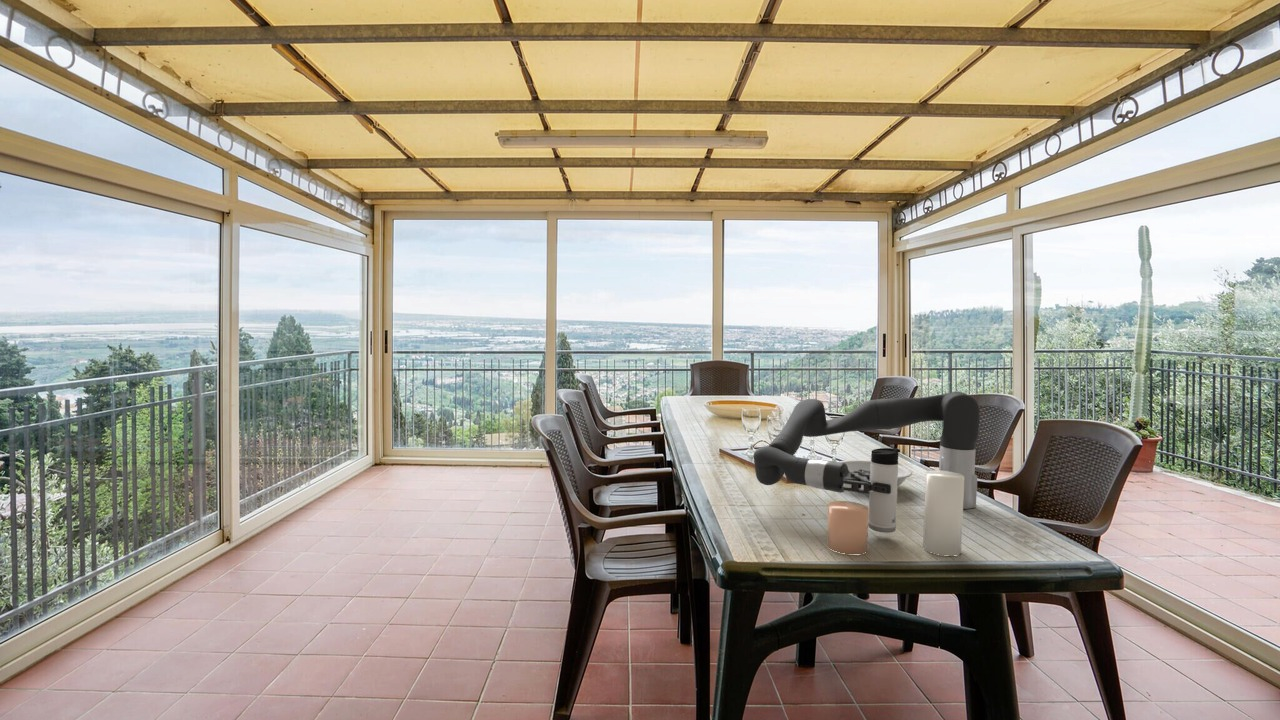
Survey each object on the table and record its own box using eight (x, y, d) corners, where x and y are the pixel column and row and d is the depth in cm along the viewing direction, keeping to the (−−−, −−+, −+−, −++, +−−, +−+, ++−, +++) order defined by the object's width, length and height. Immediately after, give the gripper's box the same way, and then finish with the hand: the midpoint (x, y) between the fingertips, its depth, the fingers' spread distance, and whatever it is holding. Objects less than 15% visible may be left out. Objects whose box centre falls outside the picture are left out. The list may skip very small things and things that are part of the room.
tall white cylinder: (952, 544, 142) (955, 471, 141) (967, 557, 134) (970, 479, 133) (917, 542, 143) (920, 469, 141) (930, 555, 135) (933, 478, 134)
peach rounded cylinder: (861, 542, 143) (863, 501, 142) (871, 556, 134) (873, 513, 133) (823, 540, 144) (824, 500, 143) (831, 554, 135) (832, 511, 134)
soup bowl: (917, 486, 194) (918, 466, 194) (903, 503, 174) (904, 481, 174) (843, 475, 208) (844, 456, 207) (822, 490, 188) (823, 469, 187)
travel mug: (901, 533, 142) (904, 451, 141) (873, 532, 142) (877, 451, 141) (890, 524, 148) (893, 446, 147) (864, 523, 149) (867, 445, 147)
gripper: (817, 466, 147) (887, 477, 137) (835, 456, 159) (902, 465, 149) (816, 495, 148) (886, 508, 138) (835, 483, 159) (900, 494, 149)
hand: (894, 486), depth 143 cm, fingers closed on travel mug, 6 cm apart
